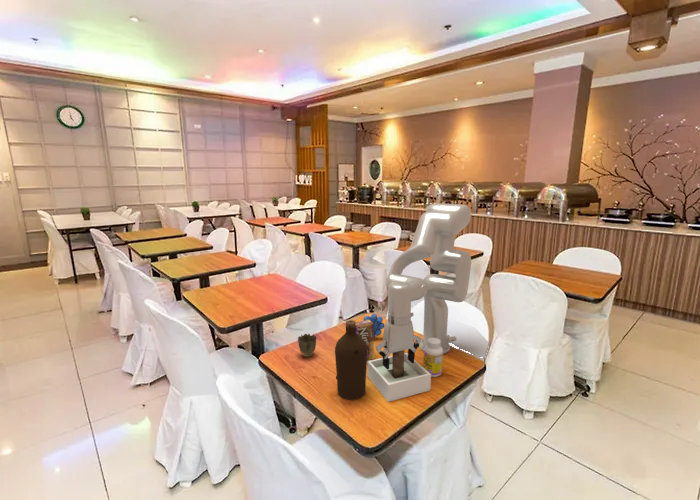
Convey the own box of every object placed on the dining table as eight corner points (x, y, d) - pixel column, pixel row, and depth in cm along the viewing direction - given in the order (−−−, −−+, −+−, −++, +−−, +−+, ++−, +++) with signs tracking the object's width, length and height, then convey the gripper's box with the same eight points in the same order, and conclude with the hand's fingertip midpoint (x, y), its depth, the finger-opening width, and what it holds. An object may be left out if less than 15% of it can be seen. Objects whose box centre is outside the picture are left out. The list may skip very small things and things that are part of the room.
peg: (400, 376, 127) (400, 345, 125) (405, 382, 124) (406, 350, 121) (390, 378, 126) (390, 347, 124) (395, 384, 122) (396, 352, 120)
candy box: (369, 354, 145) (369, 319, 142) (374, 359, 141) (374, 323, 138) (349, 359, 141) (348, 323, 138) (354, 364, 138) (353, 327, 134)
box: (406, 367, 135) (406, 352, 134) (430, 390, 121) (431, 374, 119) (367, 376, 129) (367, 361, 128) (388, 401, 115) (388, 385, 114)
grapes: (382, 334, 163) (383, 310, 160) (385, 341, 156) (385, 315, 154) (357, 335, 162) (357, 310, 160) (358, 342, 155) (358, 316, 153)
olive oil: (373, 390, 121) (373, 321, 116) (353, 405, 113) (352, 332, 108) (349, 379, 128) (349, 313, 123) (329, 392, 120) (327, 323, 115)
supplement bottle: (419, 370, 133) (420, 338, 130) (434, 366, 136) (435, 335, 133) (430, 379, 127) (431, 346, 124) (445, 375, 130) (447, 342, 127)
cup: (295, 358, 143) (294, 339, 141) (304, 350, 149) (303, 332, 148) (311, 361, 140) (311, 343, 138) (320, 353, 147) (319, 335, 145)
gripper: (415, 310, 127) (414, 354, 130) (371, 318, 120) (371, 364, 124) (427, 318, 120) (426, 364, 124) (381, 327, 114) (381, 375, 117)
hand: (398, 364), depth 124 cm, fingers open, 9 cm apart
